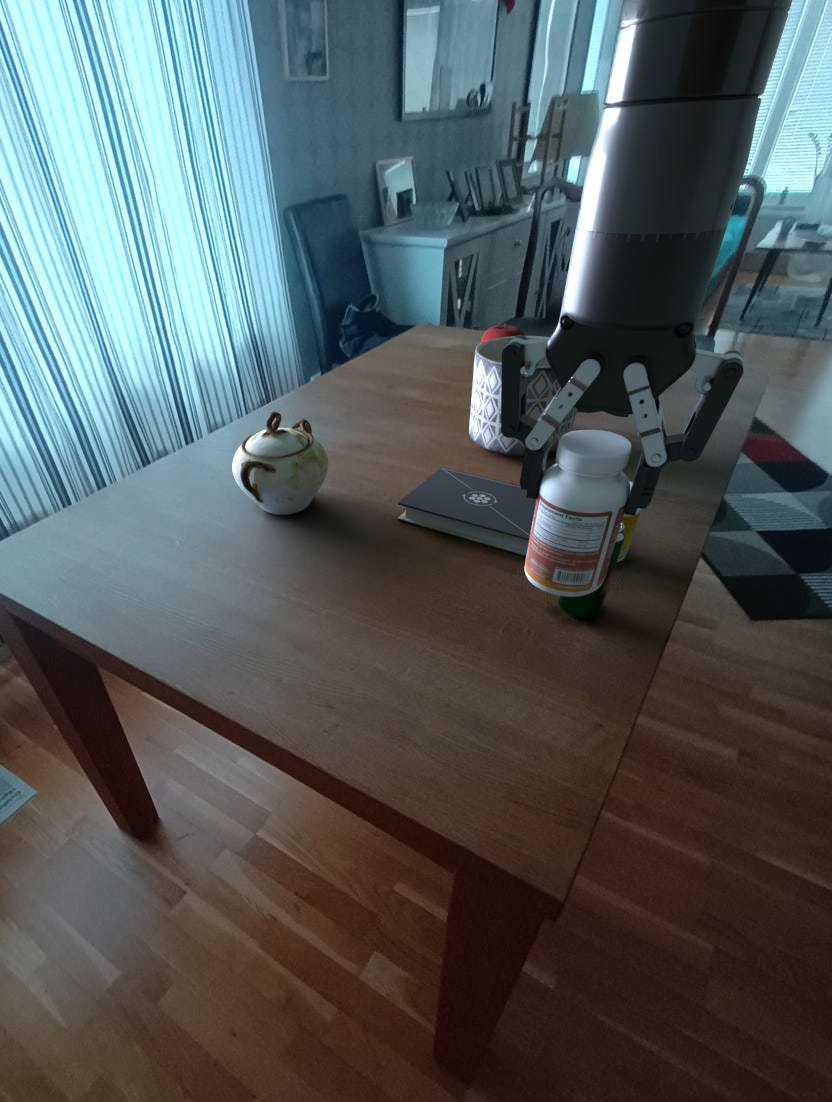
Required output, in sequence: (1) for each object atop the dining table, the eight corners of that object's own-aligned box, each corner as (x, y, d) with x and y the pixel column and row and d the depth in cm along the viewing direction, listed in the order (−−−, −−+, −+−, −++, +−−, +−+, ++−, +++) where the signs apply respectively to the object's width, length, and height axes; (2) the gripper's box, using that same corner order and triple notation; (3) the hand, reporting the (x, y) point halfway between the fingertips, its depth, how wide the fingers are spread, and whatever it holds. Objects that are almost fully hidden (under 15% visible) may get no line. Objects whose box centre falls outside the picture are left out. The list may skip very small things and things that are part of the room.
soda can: (603, 622, 69) (632, 536, 61) (560, 619, 70) (583, 533, 62) (596, 597, 73) (623, 513, 65) (555, 594, 74) (576, 510, 66)
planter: (578, 433, 112) (600, 341, 102) (556, 473, 100) (578, 372, 89) (483, 419, 119) (494, 331, 108) (451, 454, 107) (460, 359, 96)
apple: (521, 384, 135) (529, 329, 127) (475, 382, 137) (481, 327, 129) (522, 369, 143) (530, 317, 135) (478, 368, 145) (484, 316, 137)
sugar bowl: (293, 541, 85) (282, 443, 76) (212, 521, 91) (191, 427, 81) (351, 485, 99) (348, 395, 89) (277, 470, 104) (266, 384, 94)
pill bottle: (562, 548, 49) (593, 418, 42) (620, 583, 45) (665, 446, 38) (506, 570, 47) (528, 437, 40) (562, 609, 43) (598, 469, 36)
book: (565, 513, 89) (570, 495, 87) (531, 559, 80) (535, 540, 78) (439, 482, 98) (441, 465, 96) (396, 520, 89) (397, 502, 87)
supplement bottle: (633, 557, 80) (657, 489, 73) (605, 570, 77) (627, 501, 71) (601, 539, 83) (621, 473, 76) (574, 551, 81) (592, 484, 74)
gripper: (500, 226, 31) (470, 508, 42) (818, 227, 26) (688, 547, 37) (530, 211, 36) (496, 466, 47) (800, 210, 31) (691, 495, 42)
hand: (581, 501), depth 42 cm, fingers closed on pill bottle, 6 cm apart
